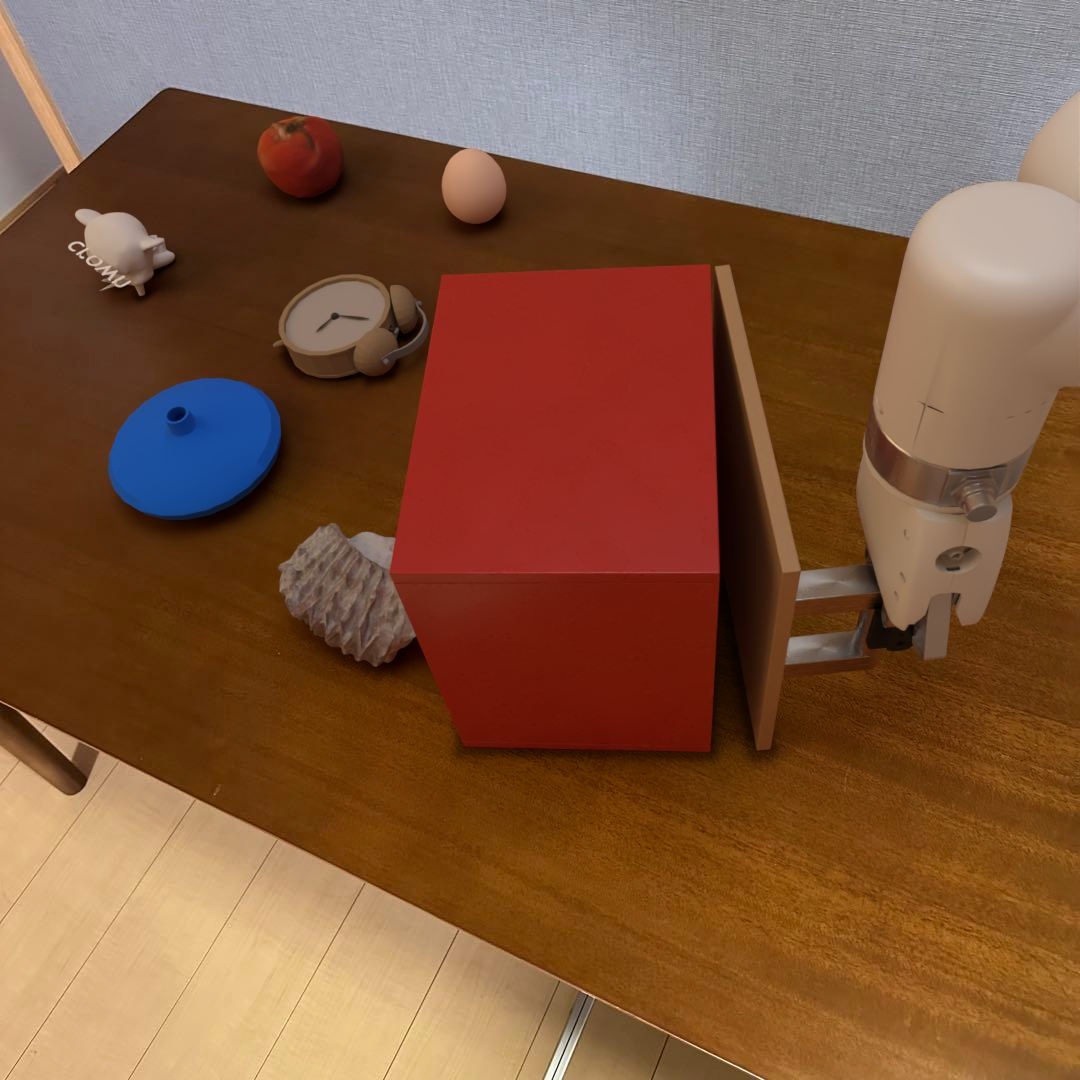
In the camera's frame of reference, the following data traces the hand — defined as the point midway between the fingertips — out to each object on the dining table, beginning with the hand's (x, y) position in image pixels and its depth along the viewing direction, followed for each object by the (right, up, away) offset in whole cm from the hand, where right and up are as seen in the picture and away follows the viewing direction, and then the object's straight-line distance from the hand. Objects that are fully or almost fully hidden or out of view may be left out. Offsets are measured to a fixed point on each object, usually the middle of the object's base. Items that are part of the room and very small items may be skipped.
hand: (886, 622), depth 65 cm
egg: (-28, +39, +46) cm, 67 cm away
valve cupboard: (-17, 0, +18) cm, 25 cm away
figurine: (-64, +33, +47) cm, 86 cm away
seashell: (-35, 0, +20) cm, 41 cm away
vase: (-52, +12, +31) cm, 62 cm away
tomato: (-47, +45, +53) cm, 84 cm away
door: (-3, 0, +16) cm, 16 cm away
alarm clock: (-39, +24, +38) cm, 60 cm away
